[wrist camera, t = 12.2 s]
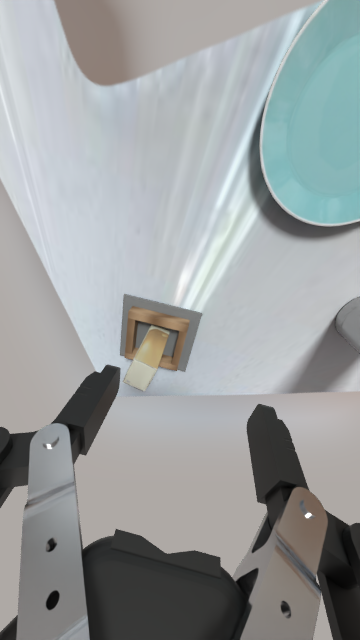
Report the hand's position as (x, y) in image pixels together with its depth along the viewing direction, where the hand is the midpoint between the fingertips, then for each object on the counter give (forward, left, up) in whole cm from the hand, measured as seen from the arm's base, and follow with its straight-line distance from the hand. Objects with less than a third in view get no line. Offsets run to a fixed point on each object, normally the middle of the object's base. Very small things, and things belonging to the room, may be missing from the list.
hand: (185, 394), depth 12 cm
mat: (+6, +17, -28) cm, 33 cm away
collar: (+6, +17, -28) cm, 33 cm away
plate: (-13, -21, -29) cm, 38 cm away
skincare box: (+6, +17, -28) cm, 33 cm away
